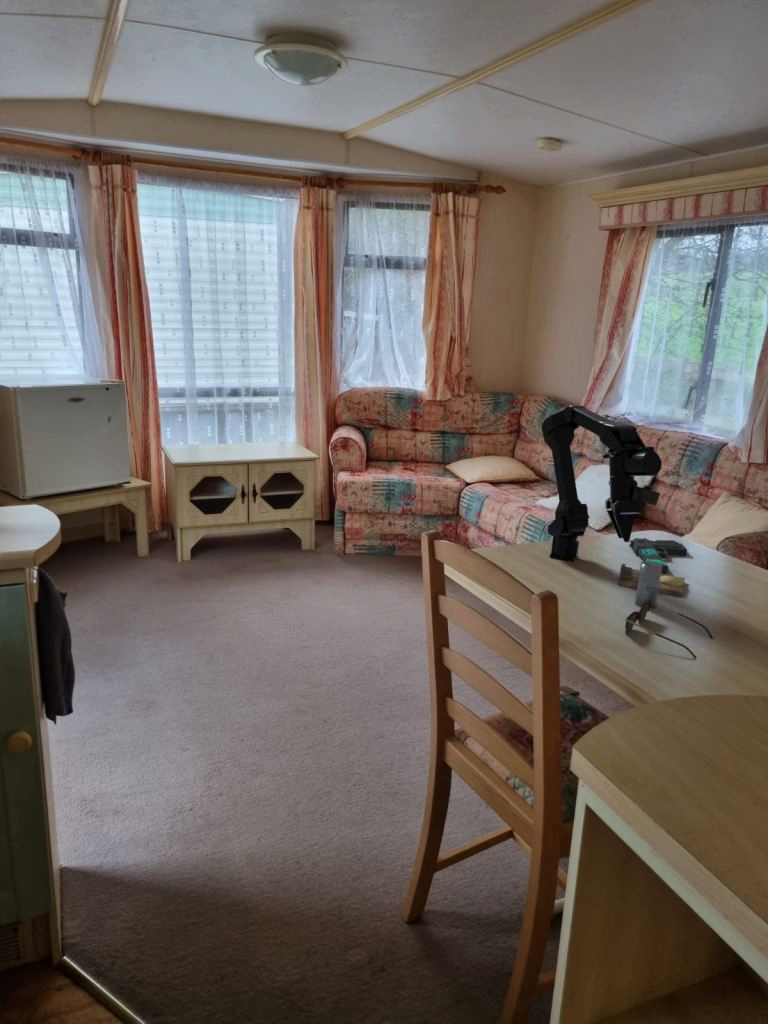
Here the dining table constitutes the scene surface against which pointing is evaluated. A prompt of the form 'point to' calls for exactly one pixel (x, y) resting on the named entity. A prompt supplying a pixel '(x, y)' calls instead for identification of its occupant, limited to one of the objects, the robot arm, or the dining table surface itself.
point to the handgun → (657, 550)
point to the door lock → (666, 584)
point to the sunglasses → (642, 614)
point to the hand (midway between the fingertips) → (623, 540)
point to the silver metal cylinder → (648, 583)
